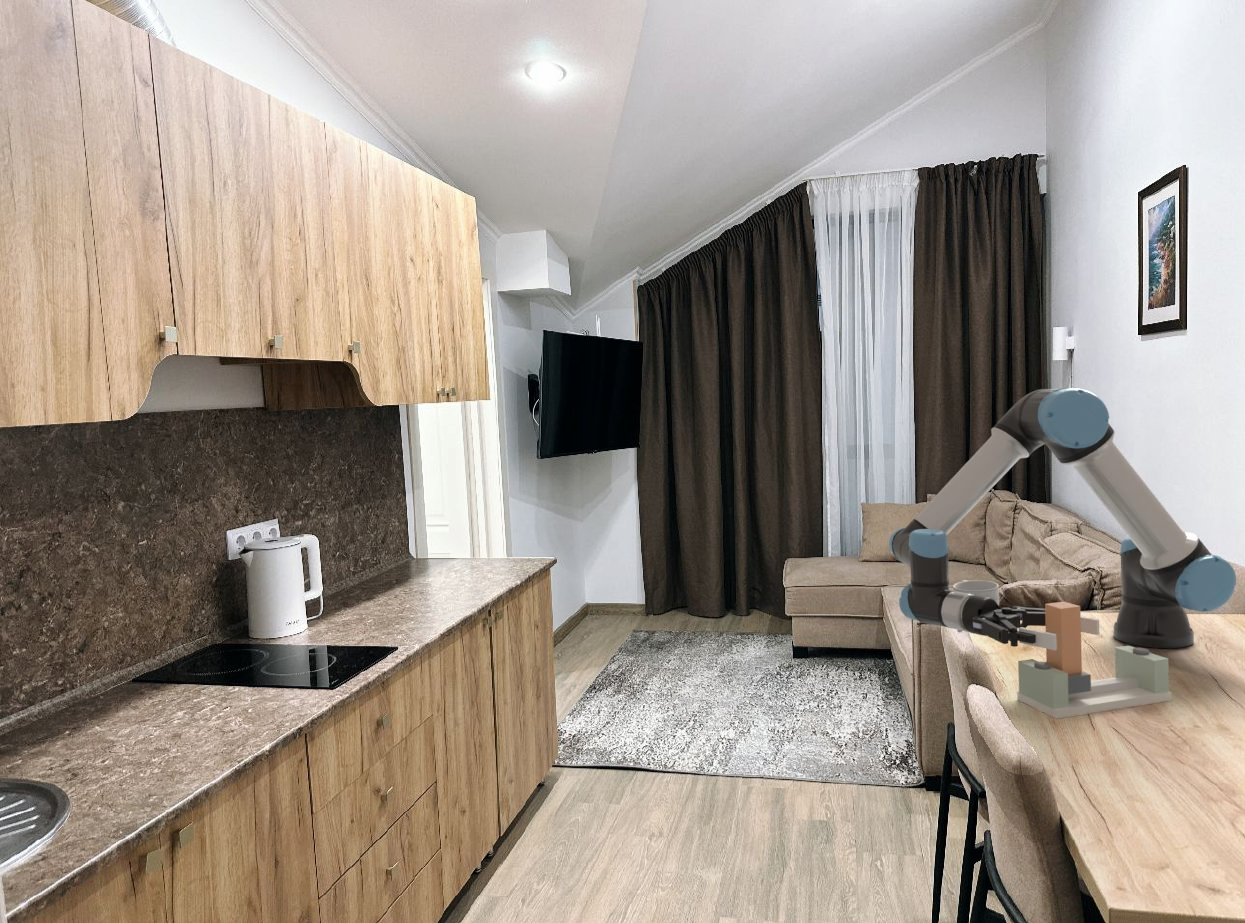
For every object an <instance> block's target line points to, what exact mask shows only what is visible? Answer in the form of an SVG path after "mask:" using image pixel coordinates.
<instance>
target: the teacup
mask: <svg viewBox="0 0 1245 923" xmlns="http://www.w3.org/2000/svg"><path fill="white" fill-rule="evenodd" d="M952 588H953V591H956V592H962V593H968V594H973V595H978V596H984V597H989V598H992V599H994V600H995V601H996V602H997V604H998V606H999V607H1000V592H999V584H998V583H997V582H995V581H990V580H982V579H981V580H979V579H978V580H976V579H975V580H968V579H962V580H961V581H959V582H956V583H954V584H953V585H952Z"/></svg>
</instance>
